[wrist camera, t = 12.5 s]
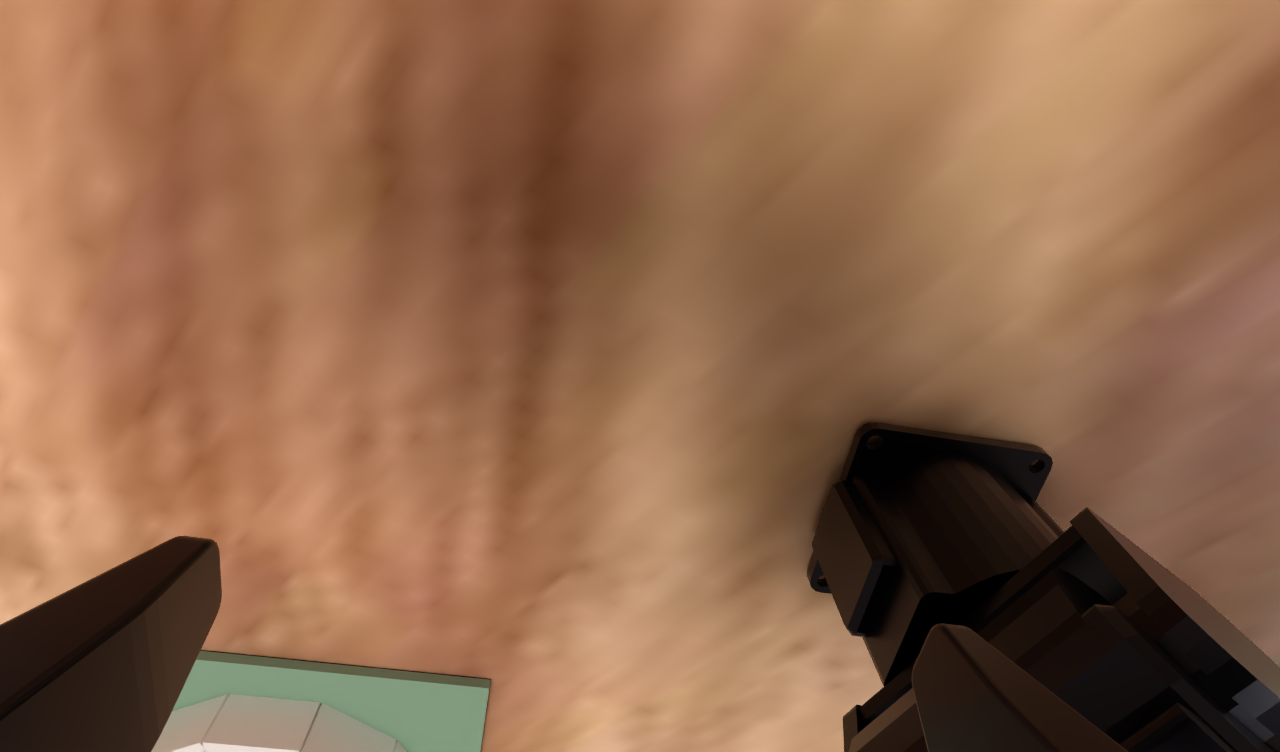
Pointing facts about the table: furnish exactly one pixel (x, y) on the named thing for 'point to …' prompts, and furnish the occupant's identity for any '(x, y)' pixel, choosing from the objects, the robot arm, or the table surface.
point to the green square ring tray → (321, 708)
